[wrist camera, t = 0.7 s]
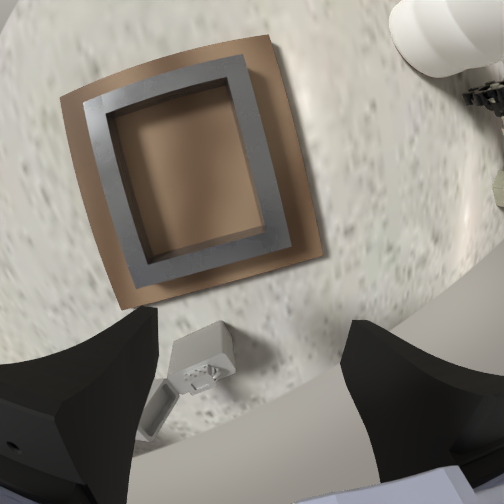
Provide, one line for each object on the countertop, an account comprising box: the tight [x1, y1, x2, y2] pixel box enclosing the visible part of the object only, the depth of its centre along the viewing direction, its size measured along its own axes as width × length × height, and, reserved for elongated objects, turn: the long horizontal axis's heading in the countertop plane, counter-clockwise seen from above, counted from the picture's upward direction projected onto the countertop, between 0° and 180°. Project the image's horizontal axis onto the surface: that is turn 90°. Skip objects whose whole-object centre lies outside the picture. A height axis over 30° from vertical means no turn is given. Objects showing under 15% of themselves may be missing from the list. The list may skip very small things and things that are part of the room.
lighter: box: [135, 321, 236, 442], centre depth 19 cm, size 7×2×8 cm, turn 116°
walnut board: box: [60, 34, 323, 310], centre depth 19 cm, size 14×15×1 cm
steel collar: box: [83, 54, 292, 289], centre depth 18 cm, size 9×11×2 cm
